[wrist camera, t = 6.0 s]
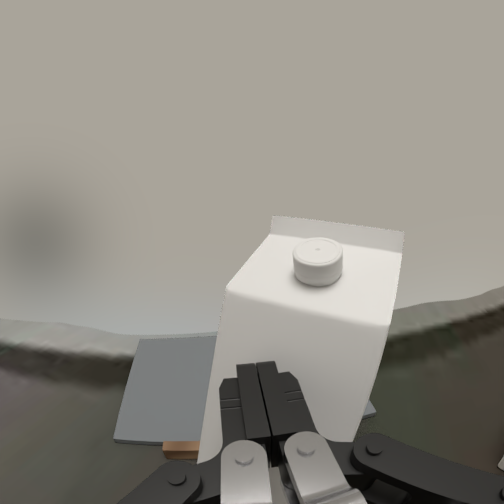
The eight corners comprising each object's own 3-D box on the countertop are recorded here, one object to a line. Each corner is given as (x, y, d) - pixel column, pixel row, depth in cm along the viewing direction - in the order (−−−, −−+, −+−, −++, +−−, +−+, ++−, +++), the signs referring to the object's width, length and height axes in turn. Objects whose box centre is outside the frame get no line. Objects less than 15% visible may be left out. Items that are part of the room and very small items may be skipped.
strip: (166, 458, 19) (162, 450, 18) (167, 449, 20) (163, 441, 19) (331, 440, 20) (334, 431, 20) (327, 432, 21) (330, 423, 21)
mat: (115, 442, 20) (113, 438, 19) (141, 342, 35) (140, 339, 34) (374, 415, 22) (376, 411, 22) (322, 328, 37) (323, 324, 37)
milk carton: (244, 464, 19) (295, 227, 19) (326, 494, 15) (403, 242, 16) (189, 509, 12) (240, 198, 13) (290, 555, 9) (407, 215, 9)
